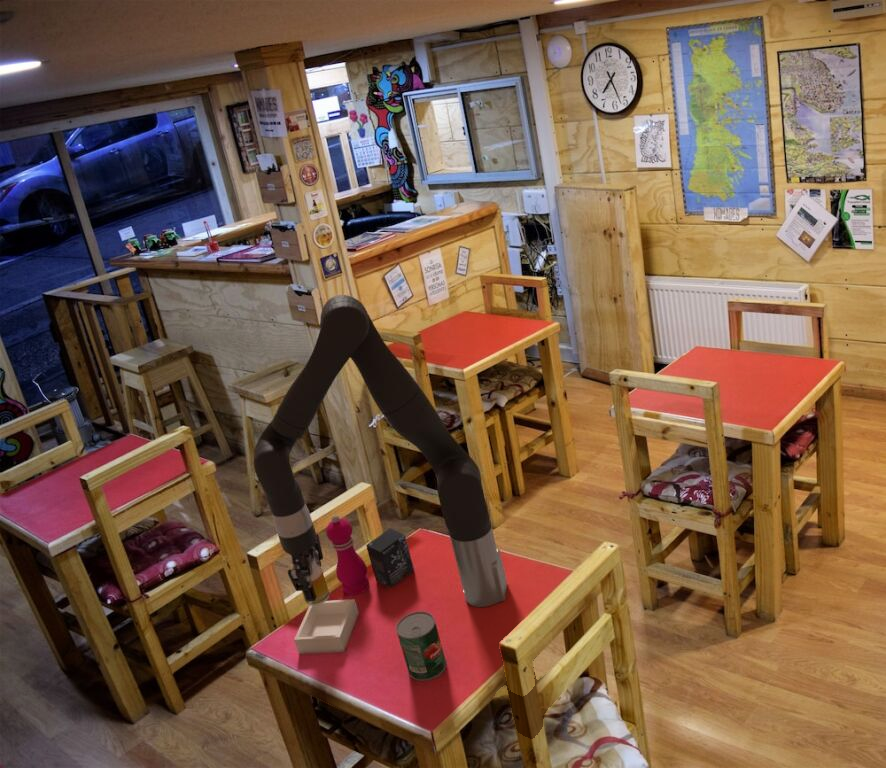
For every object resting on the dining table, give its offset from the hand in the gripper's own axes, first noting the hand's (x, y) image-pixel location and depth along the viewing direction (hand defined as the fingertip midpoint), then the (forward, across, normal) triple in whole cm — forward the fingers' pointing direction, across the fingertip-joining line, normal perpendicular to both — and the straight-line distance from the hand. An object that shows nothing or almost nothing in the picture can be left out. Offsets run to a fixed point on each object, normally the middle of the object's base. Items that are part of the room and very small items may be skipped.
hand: (315, 590), depth 190 cm
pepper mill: (+12, +16, -2) cm, 20 cm away
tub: (+12, 0, 0) cm, 12 cm away
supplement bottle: (+2, 0, 0) cm, 2 cm away
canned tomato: (+12, -12, -25) cm, 30 cm away
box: (+12, +19, -11) cm, 25 cm away
